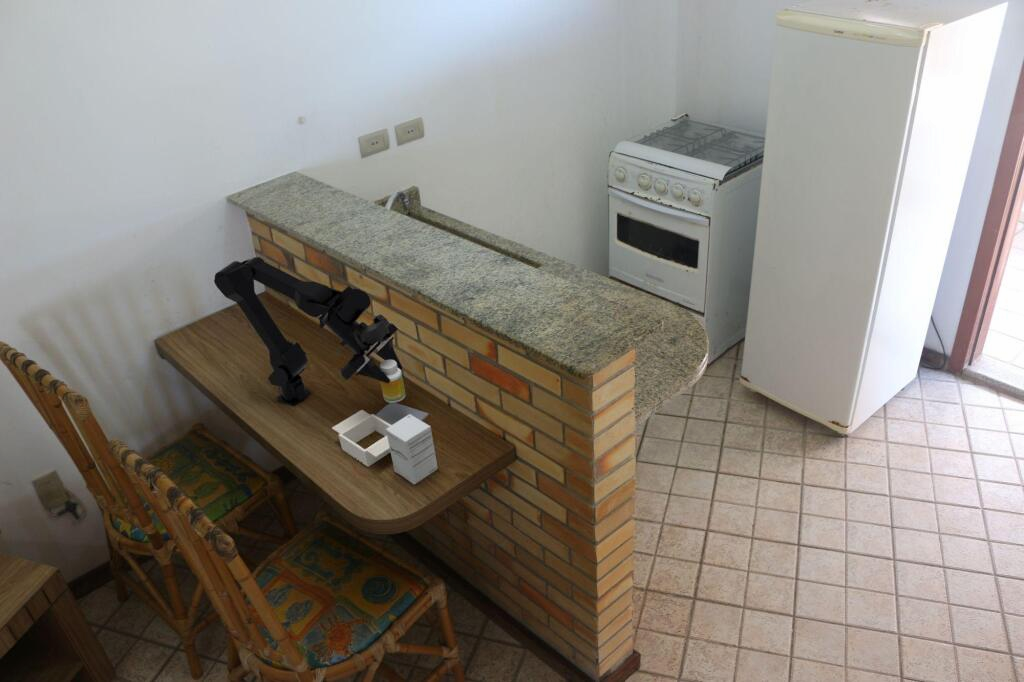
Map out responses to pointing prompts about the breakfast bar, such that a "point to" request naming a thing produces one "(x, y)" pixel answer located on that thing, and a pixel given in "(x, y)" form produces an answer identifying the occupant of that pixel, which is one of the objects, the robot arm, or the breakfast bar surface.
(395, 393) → the supplement bottle
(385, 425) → the carton
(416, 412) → the mat
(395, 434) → the supplement box
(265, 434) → the breakfast bar surface
